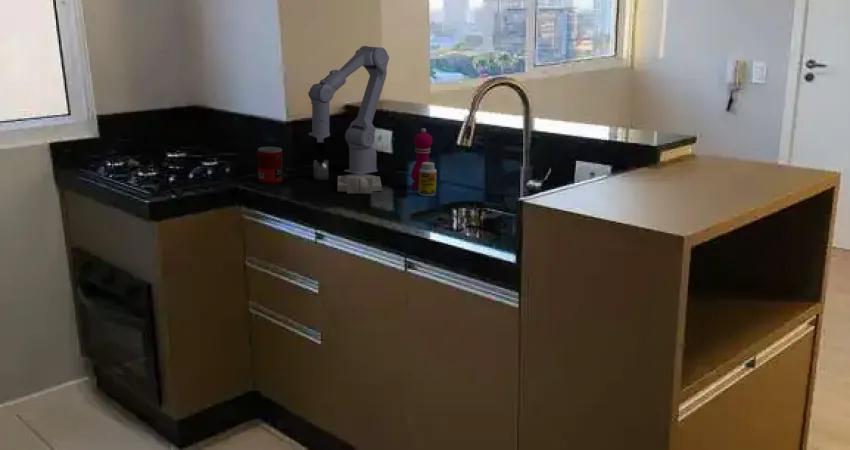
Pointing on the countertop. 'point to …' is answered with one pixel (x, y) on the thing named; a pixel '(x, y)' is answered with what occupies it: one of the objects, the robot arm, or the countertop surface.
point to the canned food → (270, 164)
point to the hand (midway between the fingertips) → (320, 160)
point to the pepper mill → (420, 155)
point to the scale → (359, 183)
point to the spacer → (321, 170)
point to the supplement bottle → (427, 179)
